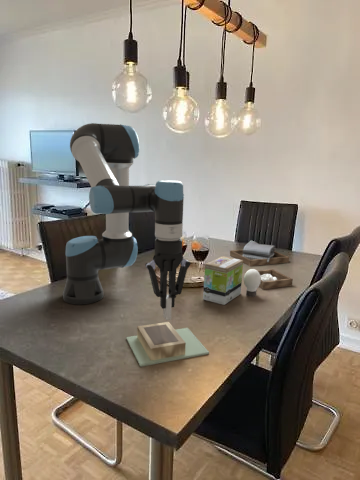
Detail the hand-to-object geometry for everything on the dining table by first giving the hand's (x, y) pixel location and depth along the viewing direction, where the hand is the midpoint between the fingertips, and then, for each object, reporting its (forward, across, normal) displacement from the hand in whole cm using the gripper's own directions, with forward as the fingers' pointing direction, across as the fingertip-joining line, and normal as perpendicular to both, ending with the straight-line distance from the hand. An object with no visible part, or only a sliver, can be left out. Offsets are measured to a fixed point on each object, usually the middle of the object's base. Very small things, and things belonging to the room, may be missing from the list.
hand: (167, 317), depth 107 cm
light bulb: (+9, +46, +28) cm, 54 cm away
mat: (+9, 0, 0) cm, 9 cm away
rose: (+9, +60, +38) cm, 72 cm away
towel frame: (+9, +79, +74) cm, 108 cm away
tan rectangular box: (+7, +3, 0) cm, 7 cm away
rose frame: (+9, +62, +40) cm, 74 cm away
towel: (+9, +79, +74) cm, 108 cm away
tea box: (+9, +34, +30) cm, 46 cm away
